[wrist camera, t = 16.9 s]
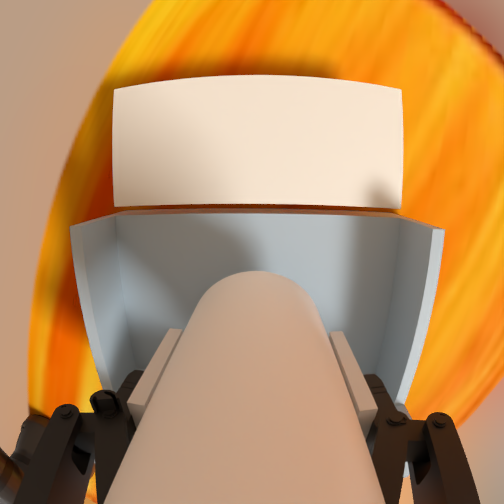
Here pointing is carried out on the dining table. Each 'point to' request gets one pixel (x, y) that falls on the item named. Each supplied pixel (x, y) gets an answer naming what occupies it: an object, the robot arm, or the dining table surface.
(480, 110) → the dining table surface
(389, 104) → the tailgate
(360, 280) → the truck bed
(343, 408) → the cup
